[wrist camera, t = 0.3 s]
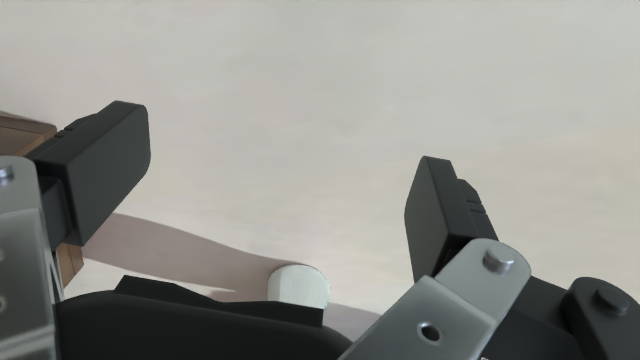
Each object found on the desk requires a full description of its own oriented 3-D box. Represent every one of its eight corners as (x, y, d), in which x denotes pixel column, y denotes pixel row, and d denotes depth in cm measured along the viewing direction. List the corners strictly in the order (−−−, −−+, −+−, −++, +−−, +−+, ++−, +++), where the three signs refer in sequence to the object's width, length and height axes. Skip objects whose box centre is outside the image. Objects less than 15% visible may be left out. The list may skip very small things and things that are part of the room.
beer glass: (278, 316, 42) (244, 487, 29) (252, 267, 38) (200, 436, 26) (344, 306, 40) (338, 481, 27) (322, 253, 37) (304, 426, 24)
